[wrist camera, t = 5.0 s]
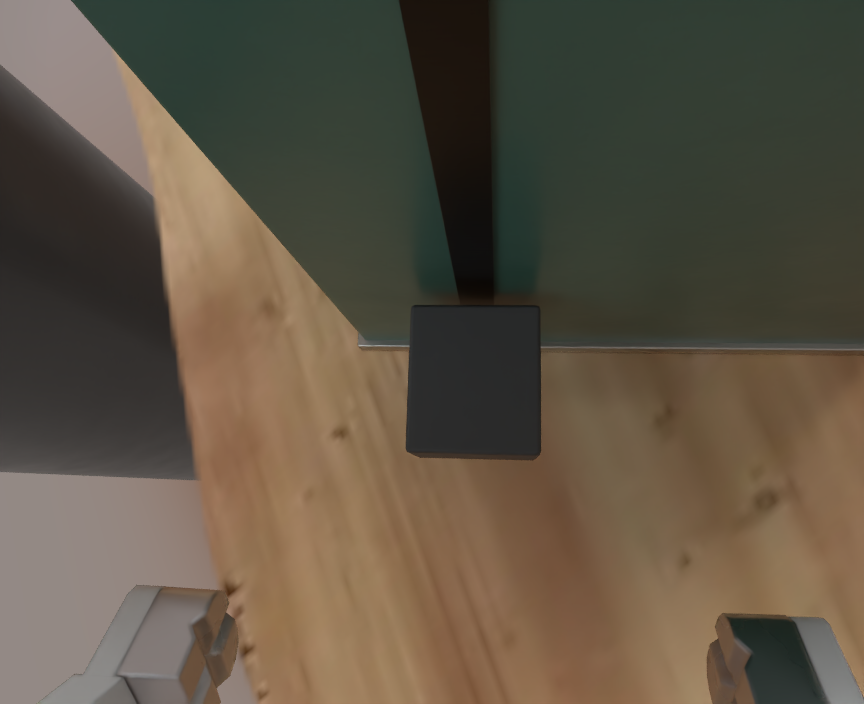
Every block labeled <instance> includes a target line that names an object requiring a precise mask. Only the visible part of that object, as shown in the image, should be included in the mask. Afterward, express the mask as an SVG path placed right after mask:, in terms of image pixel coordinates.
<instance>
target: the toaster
mask: <svg viewBox="0 0 864 704" xmlns="http://www.w3.org/2000/svg"><path fill="white" fill-rule="evenodd" d="M71 1H72V2H73V3H74V4H75V5H76V7H77V8H78V9H79V10H80V11H81V12H82V13H83V14H84V16H85V17H86V18H87V19H88V20H89V21H90V23H91V24H92V25H93V26H94V27H95V28H96V30H97V31H98V32H99V33H100V34H101V35H102V37H103V38H104V39H105V40H106V41H107V42H108V44H109V45H110V46H111V47H112V48H113V49H114V50H115V52H116V53H117V54H118V55H119V56H120V57H121V59H122V60H123V61H124V62H125V63H126V64H127V65H128V67H129V68H130V69H131V70H132V71H133V72H134V74H135V75H136V76H137V77H138V78H139V79H140V80H141V82H142V83H143V84H144V85H145V86H146V87H147V89H148V90H149V91H150V92H151V93H152V94H153V95H154V97H155V98H156V99H157V100H158V101H159V102H160V104H161V105H162V106H163V107H164V108H165V109H166V111H167V112H168V113H169V114H170V115H171V116H172V117H173V119H174V120H175V121H176V122H177V123H178V124H179V126H180V127H181V128H182V129H183V130H184V131H185V132H186V134H187V135H188V136H189V137H190V138H191V139H192V141H193V142H194V143H195V144H196V145H197V146H198V147H199V149H200V150H201V151H202V152H203V153H204V154H205V156H206V157H207V158H208V159H209V160H210V161H211V162H212V164H213V165H214V166H215V167H216V168H217V169H218V171H219V172H220V173H221V174H222V175H223V176H224V178H225V179H226V180H227V181H228V182H229V183H230V184H231V186H232V187H233V188H234V189H235V190H236V191H237V193H238V194H239V195H240V196H241V197H242V198H243V199H244V201H245V202H246V203H247V204H248V205H249V206H250V208H251V209H252V210H253V211H254V212H255V213H256V214H257V216H258V217H259V218H260V219H261V220H262V221H263V223H264V224H265V225H266V226H267V227H268V228H269V229H270V231H271V232H272V233H273V234H274V235H275V236H276V238H277V239H278V240H279V241H280V242H281V243H282V245H283V246H284V247H285V248H286V249H287V250H288V251H289V253H290V254H291V255H292V256H293V257H294V258H295V260H296V261H297V262H298V263H299V264H300V265H301V266H302V268H303V269H304V270H305V271H306V272H307V273H308V275H309V276H310V277H311V278H312V279H313V280H314V281H315V283H316V284H317V285H318V286H319V287H320V288H321V290H322V291H323V292H324V293H325V294H326V295H327V296H328V298H329V299H330V300H331V301H332V302H333V303H334V305H335V306H336V307H337V308H338V309H339V310H340V312H341V313H342V314H343V315H344V316H345V317H346V318H347V320H348V321H349V322H350V323H351V324H352V325H353V327H354V328H355V329H356V330H357V331H358V347H359V348H360V349H361V350H376V351H409V342H410V315H411V307H412V306H414V305H537V306H539V307H540V309H541V352H596V353H706V354H816V355H864V0H71Z"/></svg>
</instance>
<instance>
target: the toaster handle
mask: <svg viewBox="0 0 864 704" xmlns="http://www.w3.org/2000/svg"><path fill="white" fill-rule="evenodd" d="M406 451H407V452H409V453H411V454H413V455H415V456H418V457H420V458H460V459H500V460H534V459H536V458H537V457H538V456H539V455H540V453H541V309H540V307H539V306H537V305H414V306H412V307H411V315H410V342H409V369H408V397H407V424H406Z"/></svg>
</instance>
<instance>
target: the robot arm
mask: <svg viewBox="0 0 864 704" xmlns="http://www.w3.org/2000/svg"><path fill="white" fill-rule="evenodd" d="M228 605H229V601H228V598H227V596H226V593H225V591H224V590H208V589H192V588H176V587H165V586H144V585H136V586H135V587H134V588H133V589H132V590H131V591H130V592H129V593H128V594H127V596H126V598H125V599H124V601H123V603H122V605H121V607H120V608H119V610H118V612H117V614H116V616H115V618H114V619H113V621H112V623H111V625H110V627H109V628H108V630H107V632H106V634H105V636H104V637H103V639H102V641H101V643H100V645H99V646H98V648H97V650H96V652H95V654H94V656H93V657H92V659H91V661H90V663H89V665H88V666H87V668H86V670H85V672H84V673H83V674H74V675H73V676H71V677H70V678H69V679H68V680H66V681H65V682H64V683H62V684H61V685H60V686H59V687H57V688H56V689H55V690H54V691H52V692H51V693H50V694H48V695H47V696H46V697H45V698H43V699H42V700H41V701H39V702H38V703H37V704H220V703H221V701H220V698H219V695H218V692H217V687H218V686H219V685H221V684H222V683H223V682H224V681H225V680H226V679H227V678H228V677H229V676H230V674H231V671H232V668H233V665H234V662H235V660H236V654H237V647H238V628H237V625H236V621H235V619H234V618H233V617H231V616H230V615H229V614H227V613H226V610H227V608H228ZM715 628H716V632H717V635H718V639H717V640H715V641H714V642H712V643H711V644H710V646H709V650H708V655H707V679H708V685H709V691H710V695H711V699H712V703H713V704H864V698H863V695H862V693H861V691H860V689H859V687H858V685H857V682H856V680H855V678H854V676H853V674H852V672H851V669H850V667H849V665H848V663H847V661H846V659H845V656H844V654H843V652H842V650H841V648H840V646H839V643H838V641H837V639H836V637H835V635H834V633H833V630H832V628H831V626H830V624H829V623H828V622H827V621H826V620H825V619H824V618H819V617H787V616H786V615H764V614H732V613H722V614H721V615H720V616H719V617H718V619H717V623H716V626H715Z"/></svg>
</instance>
